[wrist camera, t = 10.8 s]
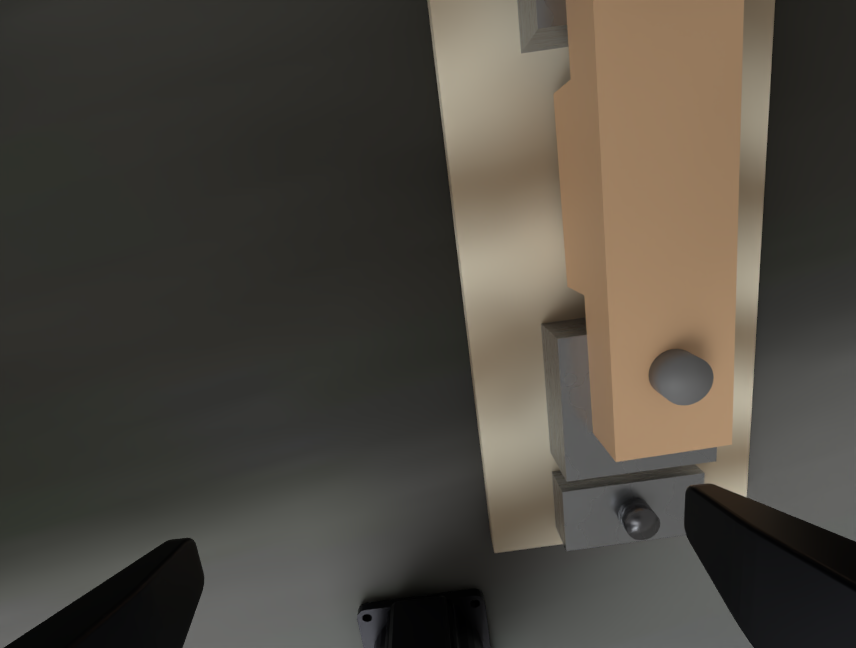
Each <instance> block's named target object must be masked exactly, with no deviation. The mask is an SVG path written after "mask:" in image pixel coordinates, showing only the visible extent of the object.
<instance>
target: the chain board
mask: <svg viewBox="0 0 856 648" xmlns="http://www.w3.org/2000/svg"><path fill="white" fill-rule="evenodd" d="M427 2H428V10H429V19H430V27H431V36H432V44H433V52H434V61H435V69H436V78H437V86H438V95H439V103H440V111H441V120H442V128H443V137H444V145H445V154H446V162H447V170H448V179H449V187H450V196H451V204H452V213H453V221H454V229H455V238H456V246H457V255H458V263H459V272H460V280H461V289H462V297H463V305H464V314H465V322H466V331H467V339H468V348H469V356H470V364H471V373H472V381H473V390H474V398H475V407H476V415H477V423H478V432H479V440H480V449H481V457H482V466H483V474H484V482H485V491H486V499H487V508H488V516H489V525H490V533H491V540H492V544H493V548H494V553H500V552H507V551H515V550H522V549H530V548H537V547H544V546H552V545H559V544H563V543H562V540H561V538H560V536H559V533H558V531H557V529H556V524H555V510H554V496H553V483H552V471H559V470H560V469H559V467H558V465H557V463H556V462H555V460H554V458H553V456H552V454H551V453H550V442H549V428H548V414H547V401H546V387H545V373H544V360H543V346H542V332H541V324H542V323H549V322H556V321H563V320H570V319H578V318H585V317H586V314H585V298H584V295H583V294H581V293H579V292H577V291H575V290H573V289H571V288H569V287H567V274H566V261H565V247H564V233H563V220H562V206H561V192H560V178H559V165H558V151H557V137H556V124H555V110H554V96H553V94H554V93H555V92H556V91H557V90H558V89H560V88H561V87H562V86H563V85H564V84H566V83H567V82H568V81H569V80H570V79H571V77H570V61H569V47H563V48H556V49H549V50H542V51H535V52H528V53H521V45H520V32H519V18H518V4H517V0H427ZM774 10H775V0H744V21H743V58H742V95H741V132H740V169H739V206H738V243H737V280H736V317H735V354H734V390H733V427H732V445H726V446H720V447H717V459H716V461H715V462H707V463H700V464H695V465H696V466H698V467H699V468H700V469H701V470H702V471H703V472H704V473H705V476H704V484H706V483H711V484H715V485H717V486H720V487H722V488H724V489H727V490H729V491H732V492H734V493H737V494H739V495H742V496H744V497H747V482H748V464H749V447H750V429H751V412H752V394H753V377H754V359H755V342H756V325H757V307H758V290H759V272H760V255H761V237H762V220H763V202H764V185H765V168H766V150H767V133H768V115H769V98H770V80H771V63H772V45H773V28H774Z"/></svg>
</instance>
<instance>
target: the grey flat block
mask: <svg viewBox="0 0 856 648" xmlns="http://www.w3.org/2000/svg"><path fill="white" fill-rule="evenodd" d="M517 4H518V18H519V32H520V45H521V53H528V52H535V51H542V50H549V49H556V48H563V47H569V45H568V30H567V14H566V0H517Z"/></svg>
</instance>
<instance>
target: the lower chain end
mask: <svg viewBox="0 0 856 648" xmlns="http://www.w3.org/2000/svg"><path fill="white" fill-rule="evenodd" d="M541 332H542V346H543V360H544V373H545V387H546V401H547V414H548V428H549V442H550V453H551V454H552V456H553V458H554V460H555V462H556V463H557V465H558V467H559V469H560V470H559V471H552V483H553V496H554V510H555V524H556V529H557V531H558V533H559V536H560V538H561V540H562V543H563V545H564V547H565V549H566V551H571V550H579V549H586V548H594V547H601V546H609V545H616V544H624V543H631V542H638V541H646V540H653V539H661V538H668V537H676V536H683V535H686V533H685V529H684V508H685V491H686V489H687V487H689V486H690V485H697V484H704V476H705V473H704V472H703V471H702V470H701V469H700V468H699V467H698V466H696V465H695V464H700V463H707V462H715V461H716V459H717V447H713V448H706V449H700V450H693V451H686V452H680V453H673V454H667V455H660V456H653V457H647V458H640V459H633V460H627V461H620V462H615V460H614V459H613V458H612V457H611V455H610V454H609V453H608V452H607V450H606V449H605V448H604V447H603V445H602V444H601V443H600V441H599V440H598V439H597V438H596V436H595V435H594V434H593V424H592V409H591V393H590V377H589V361H588V345H587V330H586V317H585V318H578V319H570V320H563V321H556V322H549V323H542V324H541Z"/></svg>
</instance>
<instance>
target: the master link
mask: <svg viewBox="0 0 856 648" xmlns="http://www.w3.org/2000/svg"><path fill="white" fill-rule="evenodd" d="M566 14H567V30H568V45H569V61H570V77H571V79H570V80H569V81H568V82H567V83H566V84H564V85H563V86H562V87H561V88H560V89H558V90H557V91H556V92H555V93H554V94H553V96H554V110H555V124H556V137H557V151H558V165H559V178H560V192H561V206H562V220H563V233H564V247H565V261H566V274H567V287H569V288H571V289H573V290H575V291H577V292H579V293H581V294H583V295H584V298H585V314H586V330H587V345H588V361H589V377H590V393H591V409H592V424H593V434H594V435H595V436H596V438H597V439H598V440H599V441H600V443H601V444H602V445H603V447H604V448H605V449H606V450H607V452H608V453H609V454H610V455H611V457H612V458H613V459H614V460H615V462H620V461H627V460H633V459H640V458H647V457H653V456H660V455H667V454H673V453H680V452H686V451H693V450H700V449H706V448H713V447H720V446H726V445H732V427H733V390H734V354H735V317H736V280H737V243H738V206H739V169H740V132H741V95H742V58H743V21H744V0H566Z"/></svg>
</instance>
